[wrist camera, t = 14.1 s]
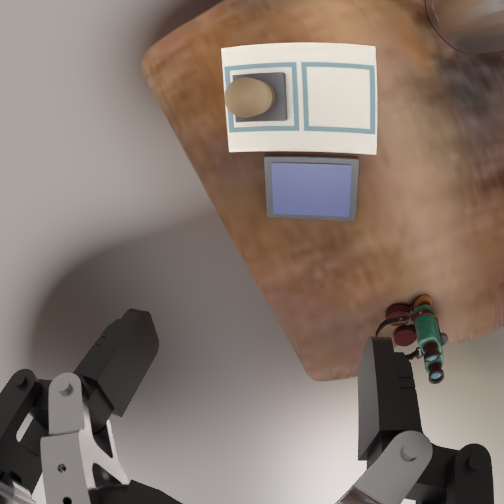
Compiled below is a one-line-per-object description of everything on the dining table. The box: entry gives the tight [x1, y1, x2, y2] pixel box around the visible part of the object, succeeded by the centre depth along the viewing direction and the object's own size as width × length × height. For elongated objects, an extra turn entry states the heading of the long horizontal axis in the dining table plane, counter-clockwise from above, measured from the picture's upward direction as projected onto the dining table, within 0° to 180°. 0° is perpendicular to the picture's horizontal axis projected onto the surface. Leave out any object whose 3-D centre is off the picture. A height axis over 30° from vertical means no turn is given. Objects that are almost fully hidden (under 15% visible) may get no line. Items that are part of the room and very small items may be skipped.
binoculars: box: [376, 295, 448, 384], centre depth 34 cm, size 9×11×10 cm
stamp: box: [224, 72, 287, 122], centre depth 25 cm, size 5×5×8 cm
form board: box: [221, 43, 377, 155], centre depth 27 cm, size 16×12×1 cm
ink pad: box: [264, 155, 359, 221], centre depth 32 cm, size 10×7×2 cm
